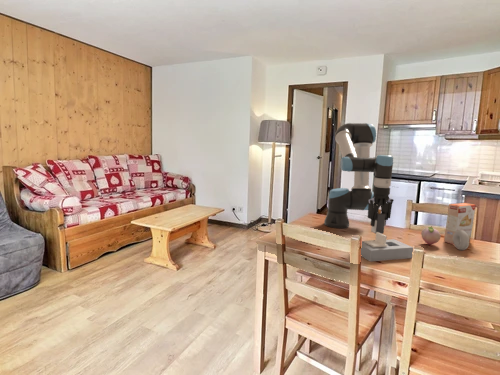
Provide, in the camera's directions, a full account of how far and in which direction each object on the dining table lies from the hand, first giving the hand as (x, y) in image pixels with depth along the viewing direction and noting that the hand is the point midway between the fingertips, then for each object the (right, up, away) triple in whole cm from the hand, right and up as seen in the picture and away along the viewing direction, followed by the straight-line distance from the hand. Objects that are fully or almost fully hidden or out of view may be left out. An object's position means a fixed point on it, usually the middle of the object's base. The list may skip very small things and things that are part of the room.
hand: (377, 231), depth 151 cm
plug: (0, 0, 0) cm, 0 cm away
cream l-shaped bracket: (-7, -4, -14) cm, 16 cm away
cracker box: (+47, -7, +9) cm, 48 cm away
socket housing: (-3, -9, -13) cm, 16 cm away
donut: (+40, -9, -3) cm, 41 cm away
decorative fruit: (+29, -8, +4) cm, 30 cm away
